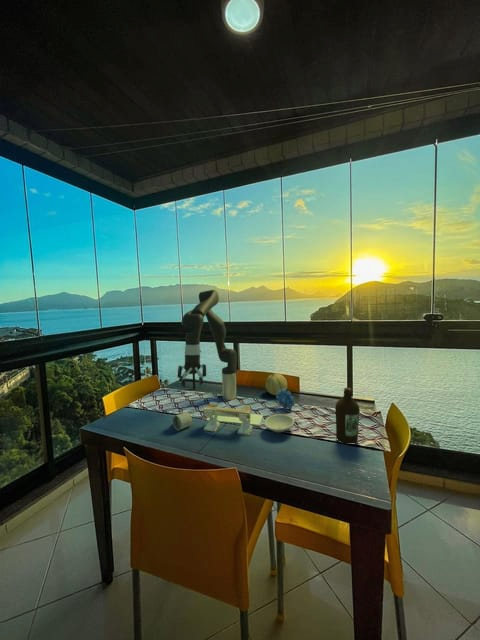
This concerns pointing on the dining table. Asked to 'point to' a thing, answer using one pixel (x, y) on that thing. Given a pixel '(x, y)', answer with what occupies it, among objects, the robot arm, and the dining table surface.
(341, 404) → the olive oil
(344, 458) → the dining table surface
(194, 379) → the solar garden light
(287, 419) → the dish
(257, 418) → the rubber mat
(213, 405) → the hook rack
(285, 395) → the grapes
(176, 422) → the ceramic mug
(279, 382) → the cantaloupe
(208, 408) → the birch batten
